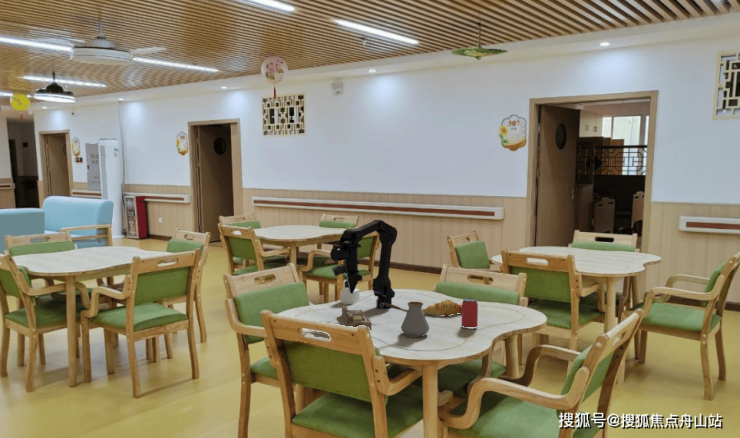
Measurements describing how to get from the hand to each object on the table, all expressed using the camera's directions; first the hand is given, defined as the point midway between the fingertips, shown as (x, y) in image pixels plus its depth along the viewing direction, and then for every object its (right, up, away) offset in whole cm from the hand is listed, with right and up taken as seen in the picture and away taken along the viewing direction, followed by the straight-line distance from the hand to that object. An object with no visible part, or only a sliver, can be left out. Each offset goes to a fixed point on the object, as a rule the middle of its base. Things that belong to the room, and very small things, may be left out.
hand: (351, 293), depth 248 cm
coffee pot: (+22, -15, -22) cm, 35 cm away
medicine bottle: (-2, -9, +28) cm, 30 cm away
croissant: (+43, -11, +11) cm, 45 cm away
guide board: (+2, -12, -4) cm, 13 cm away
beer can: (+50, -13, -11) cm, 53 cm away
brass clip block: (+2, -11, -7) cm, 13 cm away
